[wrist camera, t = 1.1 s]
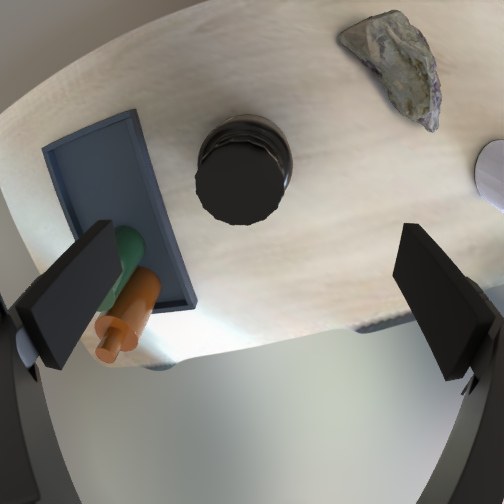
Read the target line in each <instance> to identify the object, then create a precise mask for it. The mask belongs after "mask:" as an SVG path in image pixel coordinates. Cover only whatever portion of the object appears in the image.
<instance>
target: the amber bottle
mask: <svg viewBox="0 0 504 504" xmlns="http://www.w3.org/2000/svg"><path fill="white" fill-rule="evenodd" d="M161 290H162V285H161V281H160V279H159V278H158V276H157V275H156V274H155V273H154V272H153V271H151V270H150V269H148V268H145V267H137V268H136V269H135V271H134V273H133V274H132V276H131V277H130V279H129V280H128V282H127V284H126V285H125V287H124V289H123V290H122V292H121V293H120V295H119V297H118V298H117V300H116V302H115V303H114V305H113V306H112V308H110V309H109V310H107V311H103V312H101V313H100V315H99V316H98V318H97V320H96V322H95V331H96V334H97V336H98V337H99V338H100V340H101V341H100V343H99V345H98V347H97V348H96V351H95V353H96V355H97V357H98V358H99V359H100V360H102V361H103V362H106V363H113V362H114V361H115V359H116V357H117V355H118V353H119V351H131V350H133V349H135V348H136V347H137V345H138V342H139V340H140V338H141V335H142V333H143V331H144V329H145V326H146V324H147V322H148V320H149V317H150V315H151V313H152V311H153V308H154V306H155V304H156V302H157V300H158V297H159V295H160V293H161Z"/></svg>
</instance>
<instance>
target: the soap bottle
mask: <svg viewBox="0 0 504 504" xmlns="http://www.w3.org/2000/svg"><path fill="white" fill-rule="evenodd" d="M475 181H476V185H477V189H478V191H479V193H480V194H481V196H482V198H483V199H485V200H486V201H488V202H489V203H490V204H492V205H493V206H495V207H496V208H497V209H499V210H500V211H502V212H503V213H504V141H503V140H496V141H492V142H490V143H489V144H488V145H487V146H485V147H484V149H483V150H482V152H481V153H480V155H479V157H478V160H477V164H476V167H475Z"/></svg>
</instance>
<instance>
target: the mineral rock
mask: <svg viewBox="0 0 504 504" xmlns="http://www.w3.org/2000/svg"><path fill="white" fill-rule="evenodd" d="M340 43H341V44H342V45H343V46H345V47H348V48H349V49H350V50H351V51H353V52H354V53H355V54H356V55H357V56H358V58H359V59H361V61H362V63H363V64H364V65H366V66H367V67H368V68H370V69H371V70H372V72H373V73H374V74H375V76H376V77H377V78H378V80H379V81H380V82H381V83H382V84H383V86H384V88H385V89H386V91H387V93H388V96H389V100H390V101H391V103H392V104H393V105H394V106H395V108H396V109H398V111H399V112H400V113H401V114H402V115H405V116H407V117H408V118H410V119H411V120H412V121H417V122H420V123H421V124H422V125H423V126H424V127H425V129H426V130H427V131H429V132H432V133H433V134H434V130H437V129H438V127H439V113H440V104H441V101H442V95H441V91H440V86H441V84H440V81H439V79H438V75H437V71H436V69H437V65H436V61H435V58H434V56H433V55H432V53H431V51H430V48H429V45H428V43H427V41H426V39H425V37H424V36H423V35H422V33H421V32H420V30H418V29H417V28H415V27H413V26H412V25H410V23H409V21H408V19H407V18H406V16H405V15H404V14H403V13H402V12H401V11H398V10H391V11H389V12H387V13H383V14H379V15H376V16H371V17H369V18H367V19H365V20H364V21H362V22H360V23H358V24H356V25H354V26H352V27H350V28H348V29H346V30H345V31H344V32H342V33H341V34H340Z"/></svg>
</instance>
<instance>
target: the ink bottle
mask: <svg viewBox="0 0 504 504" xmlns="http://www.w3.org/2000/svg"><path fill="white" fill-rule="evenodd" d="M197 166H198V170H197V173H196V175H195V179H196V194H197V195H198V197H199V199H200V201H201V203H202V206H203V208H204V209H205V210H207V211H208V212H209V213H210V214H211V215H212V216H214V218H215V219H217V220H221V221H223V222H226V223H228V224H230V225H247V226H248V225H251V224H253V223H256V222H259V221H261V220H262V221H263V220H265V219H266V218H267V217H268V216H269V215H270V214H271V213H272V212H273V211H274V210H276V209H277V208H278V205H279V203H280V201H281V199H282V196H284V192H285V190H286V189H287V187H288V185H289V182H290V179H291V176H292V170H293V160H292V154H291V150H290V147H289V145H288V142H287V140H286V137H285V135H284V134H283V132H282V131H281V129H280V128H279V127H278V126H277V125H275V124H274V123H273V122H271V121H270V120H268V119H266V118H263V117H260V116H256V115H240V116H234V117H232V118H230V119H228V120H226V121H224V122H223V123H221V124H220V125H219V126H217V127H216V128H215V129H213V130H212V131H211V132H210V133H209V135H208V136H207V137H206V139H205V140H204V142H203V144H202V146H201V148H200V151H199V155H198V163H197Z"/></svg>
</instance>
